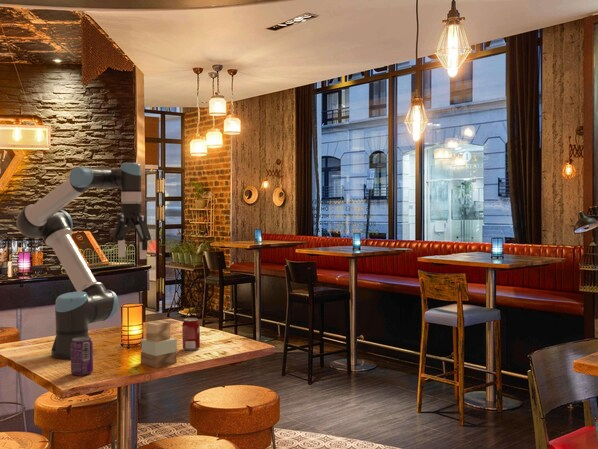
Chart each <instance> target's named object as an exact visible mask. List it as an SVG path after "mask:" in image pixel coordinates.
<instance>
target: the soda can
mask: <svg viewBox="0 0 598 449" xmlns="http://www.w3.org/2000/svg"><path fill="white" fill-rule="evenodd" d="M181 326H182V327H181V328H182V329H181V330H182V338H181V339H182V350H185V351H188V352H191V351H193V352H194V351H198V349H200V348H201V338H200V336H201V335H200V334H201V330H200V328H201V325H200V322H199V319H198V318H197V317H187V318H184V319H183V322H182V325H181Z"/></svg>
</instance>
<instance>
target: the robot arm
mask: <svg viewBox="0 0 598 449" xmlns="http://www.w3.org/2000/svg"><path fill="white" fill-rule="evenodd" d="M92 188H94V189H95V188H98V189H99V188H100V189H109V190H110V189H117V188H119V189H121V191H120V194H121V200H120V201H121V203H122V204H121V213H122V215H121V214H120V215H118V220H117V224H116V227H115V228H116V229H115V230H114V231H115V232H114V235H113V239H116V241H117V258H126V239H125V237H126V235H127V233H128V231H129V229H130V228H133V229H134V231H135V232H136V234H137V236H138V238H139V239H140V240H139V260H146V259H147V258H148V252H147V250H148V242H149V241H151V240H152V236H151V234H150V230H149V226H148V224H147V220H146V218H147V217H146V216H145V215H140V214H142V213H143V205H142V166H141V163H138V162H123V163H121V164H120V168H103V167H102V168H101V167H88V166H77V167H73V168H72V169H71V172H70V173H69V177H68V179H66V180H64V181H63V182H62V183H61V184H60V185H58V186H57V187H55V188H54V189H52V190H51V191H50V192H48V193H47V194H46V195H45V196H43V197H42V198H40V199H39V200H37V201H36V202H35V203H34V204H29V205H27V206H26V207H24V208H23V209H22V210H21V211H20V212H19V213H18V215H17V217H16V222H15V223H16V227H17V230H18V231H19V232H20V233H21V234H22V236H25V237H27V238H30V239H31V238H34V239H37V238H41V239H42V240H43V241H44V243H45V246H48V247H51V248H52V250H53V252H54V253H55V256H56V257H57V259H58V261H59V262H60V264H61V265H62V267H63V269H64V272H66V274H67V276H68V278H69V280H70V281H71V283H72V285H73V286H74V289H75V290H76V291H73V292H66V293H62V294H60V295H58V296H57V297H56V299H55V306H54V312H55V314H54V315H55V336H54V341H53V343H52V346H51V351H50V352H51V355H50V356H51V358H53V359H58V360H59V359H60V360H61V359H62V360H71V343H72V339H73V338H76V337H90V335H89V324H94V323H98V322H102V321H103V322H105V321H107V320H110V319H112V318H114V316H115V315H116V314H117V313H118V309H119V298H118V295H117V294H116V292H114V291H113V290H110V289H107V288H106V287H105V285H104V284H103V282H99V281H98V280H97V279H96V278H95V276H94V274H93V272H92V271H91V269H90V267H89V265H88V264H87V261H86V260H85V259H84V257H83V255H82V253H81V252H80V250H79V248H78V246H77V244H76V243H75V241H74V240H73V237H72V235H73V228H74V227H73V226H74V225H73V223H74V222H73V219H72V217H71V215H70V214H69V213H68V212H67V211H65V209H64V210H63V208H64V207H66V206H67V205H68V204H70V203H72V202H73V201H74V200H76V199H77V198H78V197H80V196H81V195H83V193H85V192H87V191H88V190H90V189H92ZM123 214H124V215H123Z"/></svg>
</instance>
